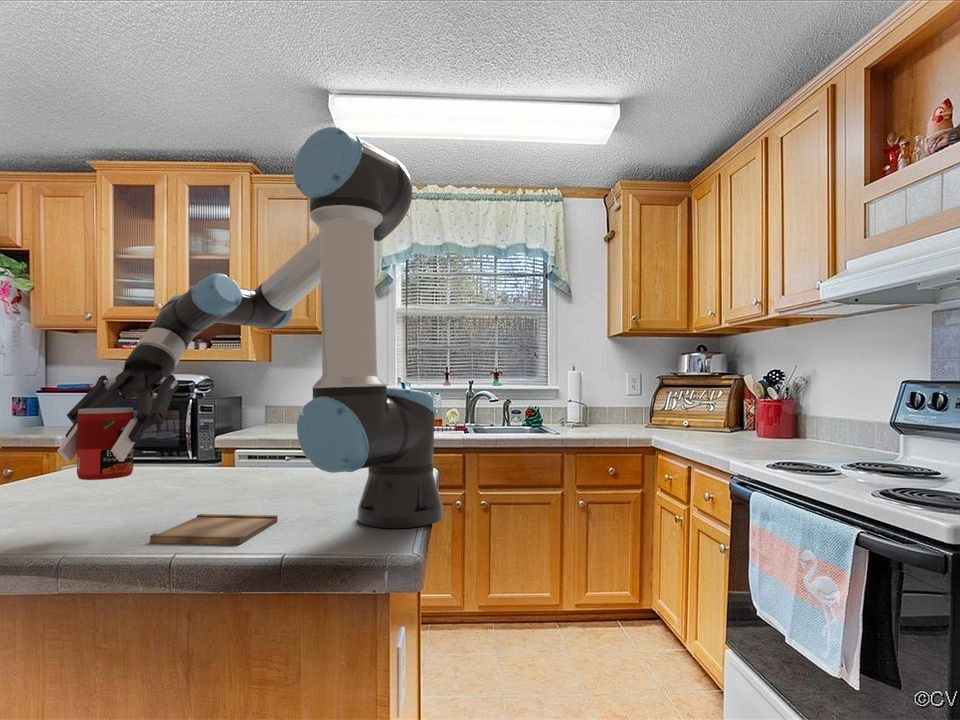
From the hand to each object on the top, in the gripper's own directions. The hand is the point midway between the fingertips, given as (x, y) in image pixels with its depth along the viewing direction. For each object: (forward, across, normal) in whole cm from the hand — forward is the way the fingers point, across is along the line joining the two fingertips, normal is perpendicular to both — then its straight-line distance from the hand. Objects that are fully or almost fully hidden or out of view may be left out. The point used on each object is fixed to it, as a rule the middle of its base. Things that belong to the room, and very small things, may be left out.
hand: (90, 456), depth 90 cm
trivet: (+5, -18, -13) cm, 23 cm away
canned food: (0, 0, -5) cm, 5 cm away
